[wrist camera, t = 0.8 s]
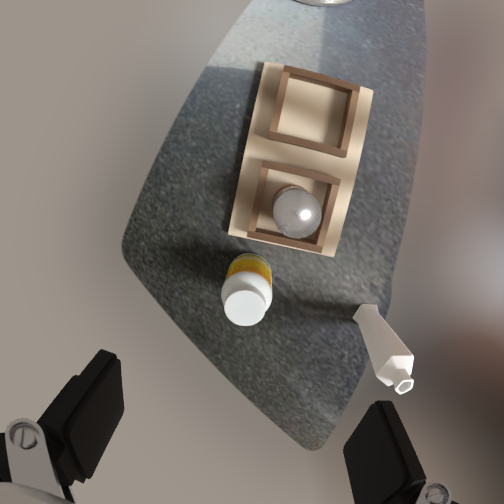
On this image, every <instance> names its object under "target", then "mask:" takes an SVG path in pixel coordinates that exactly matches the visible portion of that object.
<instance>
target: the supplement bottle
mask: <svg viewBox="0 0 504 504" xmlns="http://www.w3.org/2000/svg"><path fill="white" fill-rule="evenodd" d="M221 296H222V301H223V304H224V310H225V314H226V316H227V317H228V318H229V319H230V320H231V321H232V322H233V323H235V324H237V325H241V326H250V325H254V324H256V323H258V322H259V321H260V320H261V319H262V318H263V316H264V314H265V311H266V310H267V309H268V308H269V306H270V304H271V301H272V277H271V268H270V266H269V264H268V262H267V261H266V260H265V259H264V258H262V257H261V256H259V255H257V254H253V253H245V254H242V255H240V256H238V257H237V258H235V259H234V260H233V261H232V263H231V264H230V267H229V269H228V273H227V276H226V279H225V281H224V284H223V287H222V293H221Z"/></svg>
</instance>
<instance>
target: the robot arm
mask: <svg viewBox="0 0 504 504" xmlns="http://www.w3.org/2000/svg"><path fill="white" fill-rule="evenodd" d="M296 1H299V2H302V3H305V4H309V5H314V6H321V7H332V6H340V5H343V4H346V3H349V2H351V1H352V0H296ZM123 413H124V400H123V389H122V377H121V362H120V360H119V359H117V356H116V354H114V353H111V352H108V351H105V350H103V349H101V350H99V352H98V353H97V354H96V355H95V356H94V358H93V359H92V360H91V361H90V363H89V364H88V365H87V366H86V368H85V369H84V370H83V371H82V373H81V374H80V375H79V376H78V375H75V376H73V377H72V378H71V379H70V380H69V381H68V383H67V384H66V385H65V386H64V388H63V389H62V390H61V391H60V393H59V394H58V395H57V397H56V398H55V399H54V400H53V402H52V403H51V404H50V405H49V407H48V408H47V409H46V411H45V412H44V413H43V415H42V416H41V417H40V418H39V420H38V421H37V422H34V421H32V420H29V419H24V418H21V419H16V420H14V421H12V422H11V423H10V424H9V425H8V426H7V428H6V431H5V433H0V504H77V502H76V500H75V497H74V494H73V492H72V489H71V485H72V484H73V482H74V480H77V481H79V482H81V483H84V481H85V479H86V478H88V479H90V478H91V477H92V475H93V473H94V471H95V469H96V467H97V465H98V463H99V461H100V459H101V457H102V455H103V453H104V451H105V449H106V447H107V445H108V443H109V441H110V439H111V437H112V435H113V433H114V431H115V429H116V427H117V425H118V423H119V421H120V419H121V417H122V415H123ZM343 453H344V457H345V462H346V466H347V470H348V475H349V479H350V484H351V489H352V493H353V498H354V502H355V504H458V503H456V502H454V501H452V500H451V499H452V493H451V490H450V488H449V487H448V486H447V485H446V484H445V483H443V482H441V481H437V480H434V481H430V482H428V483H426V481H425V479H426V476H425V474H424V471H423V469H422V466H421V464H420V462H419V459H418V457H417V455H416V452H415V450H414V448H413V446H412V444H411V441H410V439H409V437H408V435H407V432H406V430H405V428H404V426H403V424H402V422H401V419H400V417H399V415H398V413H397V411H396V409H395V407H394V405H393V403H392V402H391V401H376V402H375V403H374V404H372V405H371V406H370V407H369V409H368V410H367V412H366V414H365V415H364V417H363V418H362V420H361V421H360V423H359V424H358V426H357V428H356V429H355V431H354V432H353V434H352V435H351V436H350V438H349V439H348V441H347V442H346V444H345V445H344V449H343Z"/></svg>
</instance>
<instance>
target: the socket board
mask: <svg viewBox="0 0 504 504" xmlns="http://www.w3.org/2000/svg"><path fill="white" fill-rule="evenodd" d="M372 96H373V90H370V89H367V88H364V87H362V86H359V85H356V84H353V83H350V82H346V81H343V80H340V79H337V78H333V77H330V76H326V75H323V74H319V73H316V72H312V71H308V70H304V69H300V68H295V67H291V66H286V65H282V64H277V63H272V62H266V61H265V63H264V68H263V72H262V76H261V80H260V85H259V89H258V93H257V98H256V102H255V107H254V111H253V116H252V120H251V125H250V129H249V134H248V139H247V143H246V148H245V153H244V157H243V162H242V167H241V172H240V177H239V181H238V186H237V191H236V196H235V201H234V206H233V211H232V216H231V222H230V227H229V232H228V234H229V235H234V236H238V237H243V238H248V239H252V240H257V241H262V242H267V243H271V244H276V245H280V246H285V247H290V248H294V249H299V250H303V251H308V252H313V253H317V254H322V255H326V256H331V257H334V255H335V251H336V248H337V245H338V241H339V238H340V234H341V231H342V227H343V224H344V220H345V217H346V213H347V209H348V205H349V201H350V198H351V194H352V190H353V186H354V182H355V178H356V173H357V169H358V165H359V161H360V156H361V152H362V147H363V142H364V138H365V133H366V128H367V123H368V118H369V113H370V107H371V102H372ZM291 184H293V185H298V186H301V187H303V188H304V189H306V190H307V191H308V192H309V193H310V194H311V195H312V196H313V197H315V198H316V200H317V201H318V203H319V205H320V207H321V212H322V217H321V222H320V224H319V226H318V228H317V229H316V230H315V231H314V232H313V233H312V234H311V235H309V236H307V237H304V238H291V237H288V236H286V235H284V234H283V233H281V232H280V231H279V229H278V228H277V226H276V225H275V222H274V217H273V211H272V199H273V196H274V194H275V193H276V192H277V191H278V190H279V189H280V188H281V187H283V186H286V185H291Z"/></svg>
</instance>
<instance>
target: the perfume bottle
mask: <svg viewBox="0 0 504 504" xmlns="http://www.w3.org/2000/svg"><path fill="white" fill-rule="evenodd" d="M353 319H354V320H355V321H356V322H357V323H358V324H359V327H360V330H361V333H362V336H363V338H364V341H365V344H366V347H367V350H368V353H369V356H370V359H371V362H372V365H373V368H374V371H375V374H376V377H377V378H378V379H380V380H381V381H382V382H384V383H385V384H386V385H387V386H390V385H392V384H394V386H395V391H396V392H398V393H399V394H403V393H405V392H407V391H409V390H410V389H412V387H413V382H414V380H413V379H411V377H410V374H411V371H412V365H413V358H414V356H413V355H412V353H411V352H410V351H409V350H408V348H407V347H406V346H405V345H404V343H403V342H402V341H401V340H400V339H399V337H398V336H397V335H396V334H395V332H394V331H393V330H392V329H391V327H390V326H389V325H388V324H387V323H386V321H385V320H384V319H383V318H382V317H381V315H380V314H379V313H378V308H377V305H373V304H361V305H360V307H359V308H358V310H357V311H356V313H355V314H354V316H353Z"/></svg>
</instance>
